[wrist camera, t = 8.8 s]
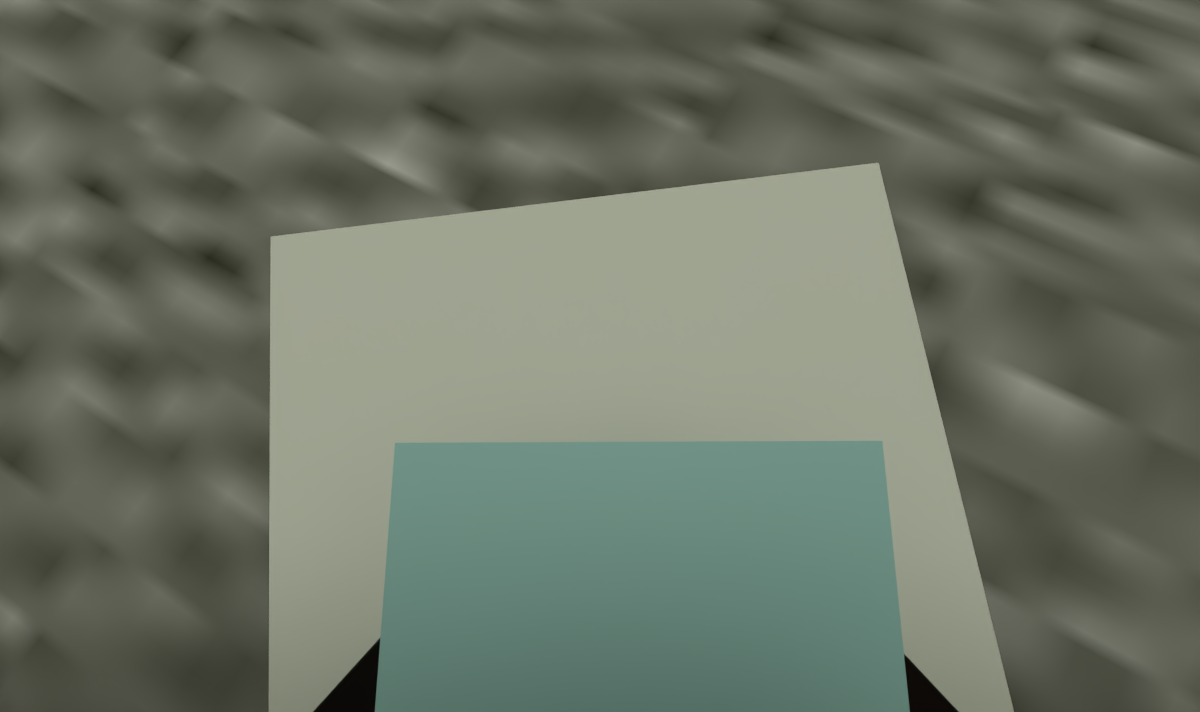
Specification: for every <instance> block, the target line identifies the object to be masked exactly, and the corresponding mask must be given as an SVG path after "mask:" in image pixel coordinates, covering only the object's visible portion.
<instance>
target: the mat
mask: <svg viewBox="0 0 1200 712" xmlns="http://www.w3.org/2000/svg"><path fill="white" fill-rule="evenodd" d="M696 441H882V442H883V452H884V462H885V472H886V482H887V491H888V501H889V511H890V521H891V531H892V541H893V551H894V561H895V571H896V580H897V590H898V600H899V610H900V620H901V630H902V640H903V650H904V654H905V655H906V656H907V657H908V658H909V659H910V660H911V661H912V663H913V664H914V665H915V666H916V667H917V668H918V669H919V670H920V671H921V672H922V673H923V674H924V675H925V676H926V677H927V678H928V680H929V681H930V682H931V683H932V684H933V685H934V686H935V687H936V688H937V689H938V690H939V691H940V692H941V693H942V694H943V695H944V697H945V698H946V699H947V700H948V701H949V702H950V703H951V704H952V705H953V706H954V707H955V708H956V709H957V710H958V711H959V712H1014V710H1013V706H1012V702H1011V698H1010V693H1009V689H1008V685H1007V681H1006V677H1005V673H1004V669H1003V665H1002V661H1001V657H1000V653H999V649H998V645H997V641H996V637H995V633H994V629H993V625H992V621H991V617H990V613H989V608H988V604H987V600H986V596H985V592H984V588H983V584H982V580H981V576H980V572H979V568H978V564H977V560H976V556H975V552H974V548H973V544H972V540H971V536H970V532H969V528H968V524H967V519H966V515H965V511H964V507H963V503H962V499H961V495H960V491H959V487H958V483H957V479H956V475H955V471H954V467H953V463H952V459H951V455H950V451H949V447H948V443H947V439H946V435H945V430H944V426H943V422H942V418H941V414H940V410H939V406H938V402H937V398H936V394H935V390H934V386H933V382H932V378H931V374H930V370H929V366H928V362H927V358H926V354H925V350H924V346H923V341H922V337H921V333H920V329H919V325H918V321H917V317H916V313H915V309H914V305H913V301H912V297H911V293H910V289H909V285H908V281H907V277H906V273H905V269H904V265H903V261H902V257H901V252H900V248H899V244H898V240H897V236H896V232H895V228H894V224H893V220H892V216H891V212H890V208H889V204H888V200H887V196H886V192H885V188H884V184H883V180H882V176H881V172H880V168H879V163H873V164H864V165H856V166H848V167H840V168H832V169H823V170H815V171H807V172H799V173H790V174H782V175H774V176H766V177H758V178H749V179H741V180H733V181H725V182H717V183H708V184H700V185H692V186H684V187H675V188H667V189H659V190H651V191H643V192H634V193H626V194H618V195H610V196H601V197H593V198H585V199H577V200H569V201H560V202H552V203H544V204H536V205H528V206H519V207H511V208H503V209H495V210H486V211H478V212H470V213H462V214H454V215H445V216H437V217H429V218H421V219H412V220H404V221H396V222H388V223H380V224H371V225H363V226H355V227H347V228H339V229H330V230H322V231H314V232H306V233H297V234H289V235H281V236H273V237H271V280H270V519H269V712H313V711H314V710H315V709H316V708H317V707H318V706H319V704H320V703H321V702H322V701H323V700H324V699H325V698H326V697H327V696H328V694H329V693H330V692H331V691H332V690H333V689H334V688H335V687H336V686H337V685H338V683H339V682H340V681H341V680H342V679H343V678H344V677H345V676H346V675H347V673H348V672H349V671H350V670H351V669H352V668H353V667H354V666H355V665H356V664H357V662H358V661H359V660H360V659H361V658H362V657H363V656H364V655H365V654H366V652H367V651H368V650H369V649H370V648H371V647H372V646H373V645H374V644H375V643H376V641H377V640H378V639H379V638H380V636H381V622H382V609H383V596H384V582H385V569H386V556H387V542H388V529H389V516H390V503H391V489H392V476H393V463H394V449H395V443H460V442H696Z"/></svg>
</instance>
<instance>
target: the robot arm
mask: <svg viewBox="0 0 1200 712" xmlns="http://www.w3.org/2000/svg"><path fill="white" fill-rule="evenodd" d="M379 649H380V638H379V639H378V640H377V641H376V643H375V644H374V645H373V646H372V647H371V648H370V649H369V650H368V651H367V652H366V654H365V655H364V656H363V657H362V658H361V659H360V660H359V661H358V662H357V664H356V665H355V666H354V667H353V668H352V669H351V670H350V671H349V672H348V673H347V675H346V676H345V677H344V678H343V679H342V680H341V681H340V682H339V683H338V685H337V686H336V687H335V688H334V689H333V690H332V691H331V692H330V693H329V694H328V696H327V697H326V698H325V699H324V700H323V701H322V702H321V703H320V704H319V706H318V707H317V708H316V709H315V710H314V711H313V712H375V702H376V689H377V676H378V662H379ZM904 660H905V669H906V679H907V689H908V699H909V709H910V712H959V711H958V710H957V709H956V708H955V707H954V706H953V705H952V704H951V703H950V702H949V701H948V700H947V699H946V698H945V697H944V695H943V694H942V693H941V692H940V691H939V690H938V689H937V688H936V687H935V686H934V685H933V684H932V683H931V682H930V681H929V680H928V678H927V677H926V676H925V675H924V674H923V673H922V672H921V671H920V670H919V669H918V668H917V667H916V666H915V665H914V664H913V663H912V661H911V660H910V659H909V658H908V657H907V656H906V655H905V654H904Z"/></svg>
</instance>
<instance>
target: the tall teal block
mask: <svg viewBox="0 0 1200 712" xmlns="http://www.w3.org/2000/svg"><path fill="white" fill-rule="evenodd" d="M375 712H910V709H909V699H908V689H907V679H906V669H905V660H904V650H903V640H902V630H901V620H900V610H899V600H898V590H897V580H896V571H895V561H894V551H893V541H892V531H891V521H890V511H889V501H888V491H887V482H886V472H885V462H884V452H883V442H882V441H696V442H460V443H395V449H394V463H393V476H392V489H391V503H390V516H389V529H388V542H387V556H386V569H385V582H384V596H383V609H382V622H381V636H380V649H379V662H378V676H377V689H376V702H375Z"/></svg>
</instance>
